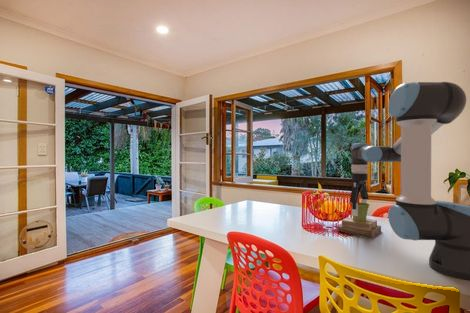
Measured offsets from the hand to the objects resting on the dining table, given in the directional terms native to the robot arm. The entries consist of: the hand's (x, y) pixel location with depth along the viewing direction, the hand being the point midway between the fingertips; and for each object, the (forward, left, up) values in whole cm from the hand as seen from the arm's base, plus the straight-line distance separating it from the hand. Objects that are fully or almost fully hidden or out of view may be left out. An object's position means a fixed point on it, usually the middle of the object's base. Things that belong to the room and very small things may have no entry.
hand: (359, 213), depth 132 cm
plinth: (0, 0, -10) cm, 10 cm away
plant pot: (0, 0, -4) cm, 4 cm away
